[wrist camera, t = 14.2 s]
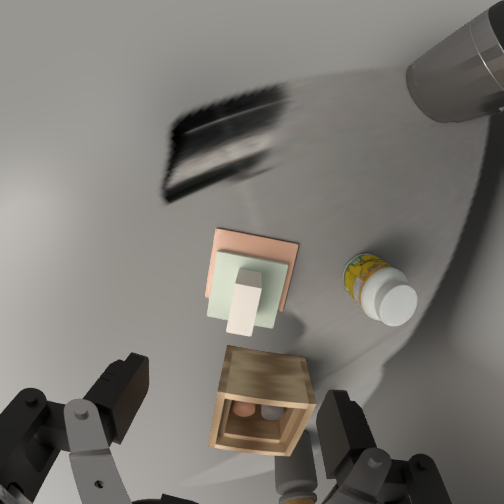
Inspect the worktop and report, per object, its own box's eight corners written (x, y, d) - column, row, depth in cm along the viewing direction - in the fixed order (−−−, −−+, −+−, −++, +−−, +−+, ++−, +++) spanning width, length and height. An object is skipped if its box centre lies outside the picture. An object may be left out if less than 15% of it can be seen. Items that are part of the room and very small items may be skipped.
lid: (287, 263, 30) (293, 280, 24) (272, 324, 31) (274, 352, 26) (218, 249, 30) (208, 263, 24) (208, 312, 31) (197, 337, 25)
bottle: (283, 451, 37) (288, 521, 23) (267, 435, 36) (268, 512, 22) (315, 440, 37) (327, 512, 22) (301, 423, 36) (311, 502, 21)
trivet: (298, 243, 30) (298, 244, 29) (281, 310, 31) (282, 311, 31) (216, 227, 30) (215, 228, 29) (205, 295, 31) (204, 297, 31)
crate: (305, 357, 33) (316, 404, 24) (285, 410, 35) (289, 456, 26) (227, 344, 33) (217, 391, 24) (217, 400, 35) (207, 446, 26)
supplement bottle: (339, 296, 31) (367, 335, 22) (343, 251, 30) (376, 277, 20) (379, 295, 31) (416, 330, 21) (385, 252, 30) (428, 276, 20)
